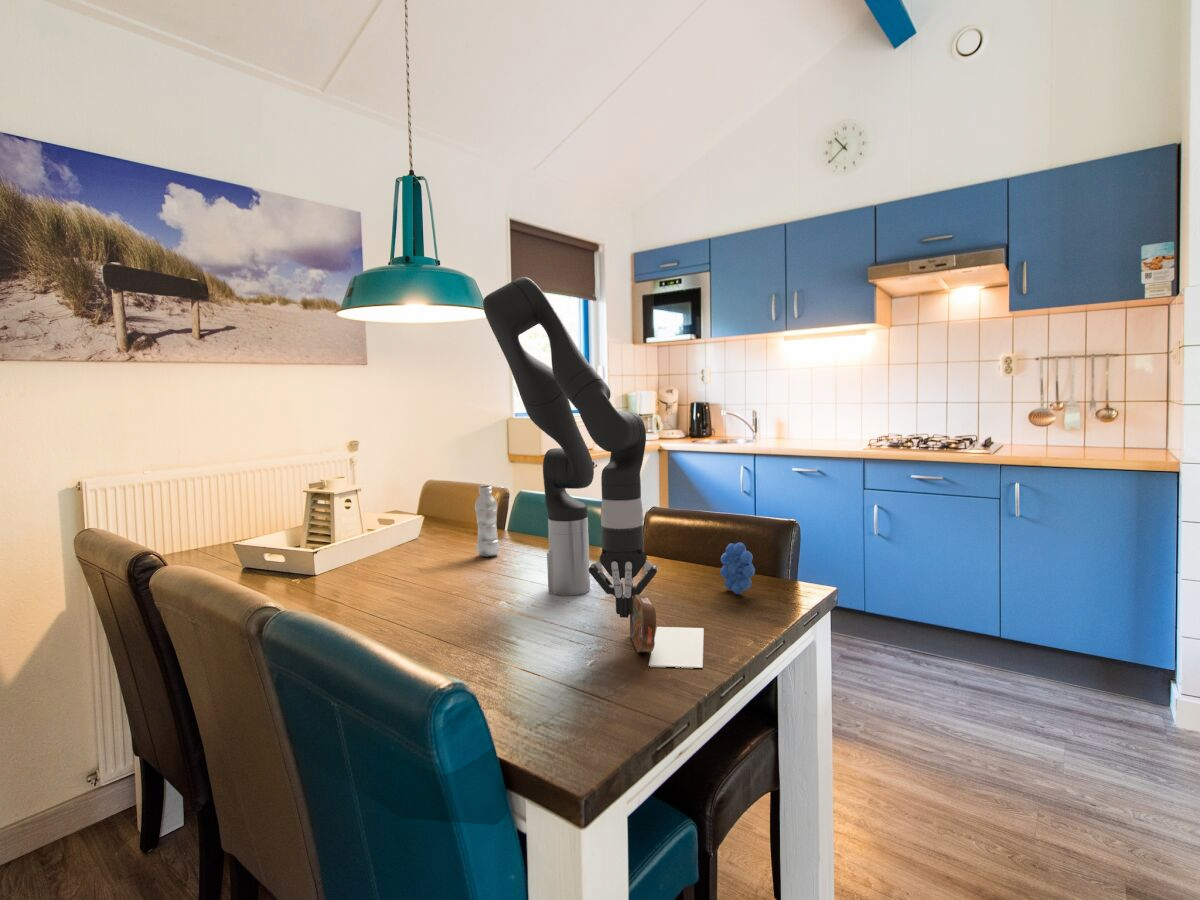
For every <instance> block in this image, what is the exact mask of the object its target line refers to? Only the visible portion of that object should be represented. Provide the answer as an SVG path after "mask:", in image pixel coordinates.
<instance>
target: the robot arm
mask: <svg viewBox="0 0 1200 900" xmlns="http://www.w3.org/2000/svg"><path fill="white" fill-rule="evenodd" d="M482 307H483V312H484V314H485V317H486V320H487V322H488V324H489V326H490V328H491V331H492V333H493V335H494V337H495V339H496V341H497V343H498V345H499V347H500V348H501V351H502V353H503V356H504V358H505V359H506V361H507V364H508V366H509V369H510V371H511V374H512V377H513V379H514V382H515V385H516V387H517V390H518V393H519V395H520V398H521V399H520V400H521V402H522V404H523V406H524V407H523V408H524V409H525V411H526V414H527V415H528V417H529V419H530V420H531V421H532V423H533V424H534V425H536V427H538V428H539V429H540V430H541V431H542V432H543V433H545V434H546V435H547V436H549V437H550V438H551V439H553V440H554V442H556V443H557V444H558V445H559V446H560V447H561V448H559V447H556V448H550V449H548V450H547V451H546V452H545V454H544V457H543V460H542V461H543V462H542V475H543V477H542V478H543V487H544V488H543V489H544V498H545V508H546V512H547V524H548V525H547V530H548V532H547V533H548V549H549V550H548V551H547V553H546V562H547V563H546V564H547V567H546V568H547V588H548V590H547V591H548V594H555V595H558V596H567V597H568V596H577V595H582V594H586V593H588V592H589V591H590V590H591V577H593V579H594V580H595V581H596V583H597V584H598V585H599V587H601V589H602V590H603V592H605V593H606V595H611V596H614V598H615V612H616V615H619V618H627V619H628V618H629V617H630V614H631V612H632V597H633V596H634V595H641V594H642V592H643V591H644V589H645V588H646V587H647V586H648V585H649V583H650V582H651V581H652V580H653V578H654V577H655V576H656V574H657V572H658V565H657V564H653V563H652V562H650V561H649V560H648V557H647V554H646V553H645V548H644V519H645V517H644V511H643V504H642V489H641V488H642V485H641V482H642V481H641V470H642V467H643V466H642V465H643V461H644V455H645V450H646V444H647V443H646V442H647V433H646V431H647V430H646V425H645V423H644V420H643V418H642V417H641V416H640V415H639V414H638V413H637V412H635V411H633V410H620V411H618V410H617V409H616V408H615V407H614V405H613V404H612V402H611V401H610V398H611V394H612V393H611V389H610V388H609V386H608V385H607V383H606V382H605V381H604V379H603V378H602V377H601V376H600V375H599V374H598V372H597V371H596V370H595V369H594V368H593V366H592V365H591V364H590V363H589V361H588V360H587V359H586V357H584V355H583V353H582V352H581V351H580V350H579V348H578V346H577V345H576V343H575V342H574V339H573V338H572V336H571V334H570V333H569V331H568V330H567V328H566V326H565V325H564V323H563V321H562V320H561V318H560V317H559V315H558V314H557V312H556V310H555V308H554V307H553V305H552V304H551V302H550V301H549V299H548V298H547V296H546V295H545V293H544V291H542V289H541V288H540V287H539V286H538V284H537V283H536V282H535V281H533V280H532V279H531V278H529V277H526V276H522V277H521V276H520V277H519V278H516V279H514V280H512V281H511V282H508V283H506V284H505V285H503V286H501V287H499V288H498V289H496V290H494V291H492V292H490V293H489V294H487V295H486V296H485V297H484V298H483V300H482ZM537 325H540V326H541V327H542V328H543V330H544V331H545V333H546V334H547V337H548V341H549V348H550V358H551V366H549V365H548V364H546V363H545V362H543V361H541V360H539V359H538V358H536V357H534V356H533V355H532V354H530V353H529V352H528V351H526V350H525V349H524V347H523V345H522V344H521V342H520V339H519V336H520V335H522V334H523V333H526V332H527V331H529V330H530V329H532V328H534V327H536V326H537ZM570 403H571V404H572V405H573V407H575V409H576V410H577V411H578V413H579V416H580V419H581V420H582V423H583V424H584V427H585V429H586V430H587V433H588V434H589V437H590V438H591V439H592V441H593V442H594V443H595V444H596V445H597V446H598V447H599V448H601V449H602V450H604V451H605V452H608V453H610V457H609V462H608V463H607V465H605V466H604V467H603V469H602V471H601V477H600V479H601V480H600V481H601V485H600V486H601V506H600V526H601V529H600V530H601V532H600V533H601V554H600V555H599V560H598V561H596V562H594V563H592V564H591V565H590V547H589V546H590V545H589V543H590V542H589V541H590V540H589V514H588V506H587V505H586V503H584V502H583V501H579V500H578V499H575V498H574V497H572V496H571V495H570V494H569V493H568V492H567V490H566V489H575V490H576V489H578V490H579V489H585V488H588V487H589V486H590V485H591V484H593V483H592V482H593V480H594V475H595V471H594V470H595V468H594V467H595V466H594V462H593V459H592V455H591V453H590V451H589V448H588V446H587V443H586V442H585V440H584V437H583V435H582V434H581V432H580V429H579V427H578V424H577V422H576V419H575V416H574V413H573V410H572V408H571V404H570ZM643 567H644V569H643ZM642 569H643V574H644V575H643V577H642V578H641V579H640V580H639V582H638V583H637V584H636V585H634V578H636V576H637V575H638V574H639V573H640V571H641V570H642ZM604 570H606V572H607V573H608V575H609V577H611V578H612V581H613V582H611V580H610V579H609V578H608V577H607V576H606V574H604ZM623 583H624V584H623Z"/></svg>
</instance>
